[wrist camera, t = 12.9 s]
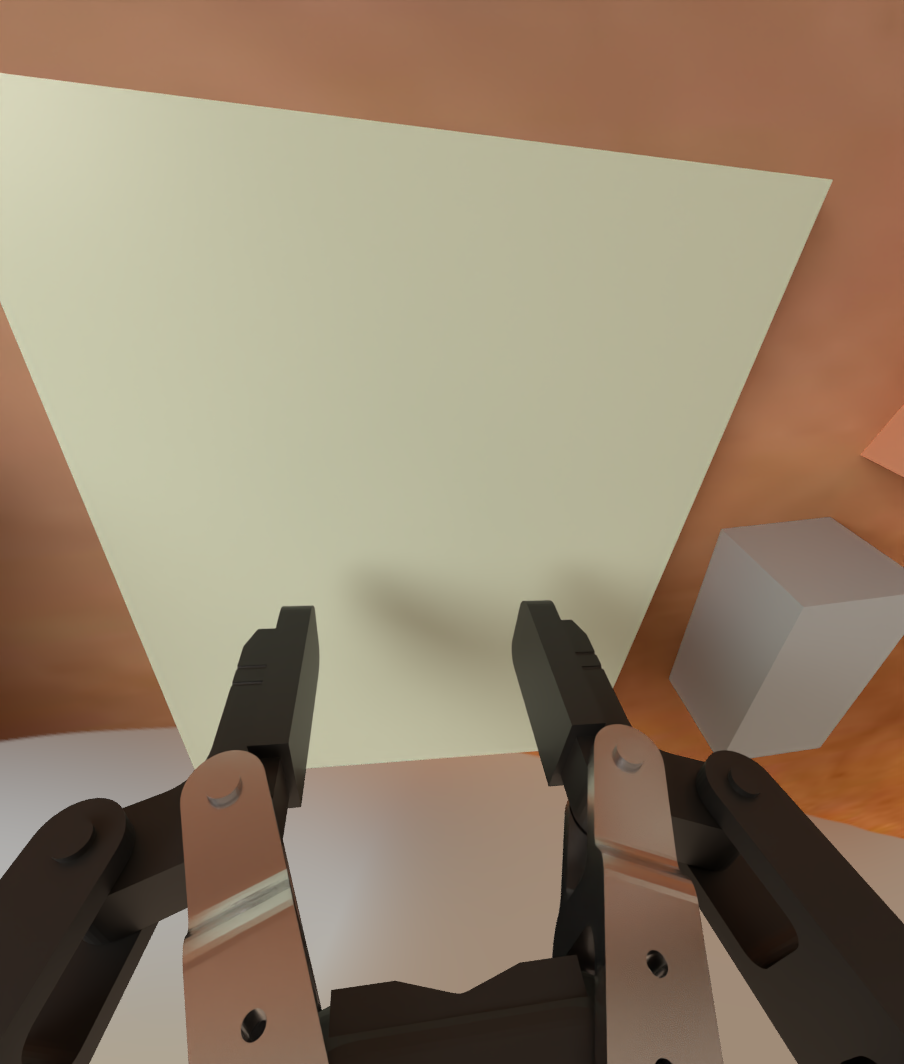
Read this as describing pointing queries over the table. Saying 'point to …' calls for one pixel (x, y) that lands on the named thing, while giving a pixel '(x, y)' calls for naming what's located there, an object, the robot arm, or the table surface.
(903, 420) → the terracotta brick
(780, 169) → the table surface
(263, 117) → the sage baseplate
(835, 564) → the slate brick
